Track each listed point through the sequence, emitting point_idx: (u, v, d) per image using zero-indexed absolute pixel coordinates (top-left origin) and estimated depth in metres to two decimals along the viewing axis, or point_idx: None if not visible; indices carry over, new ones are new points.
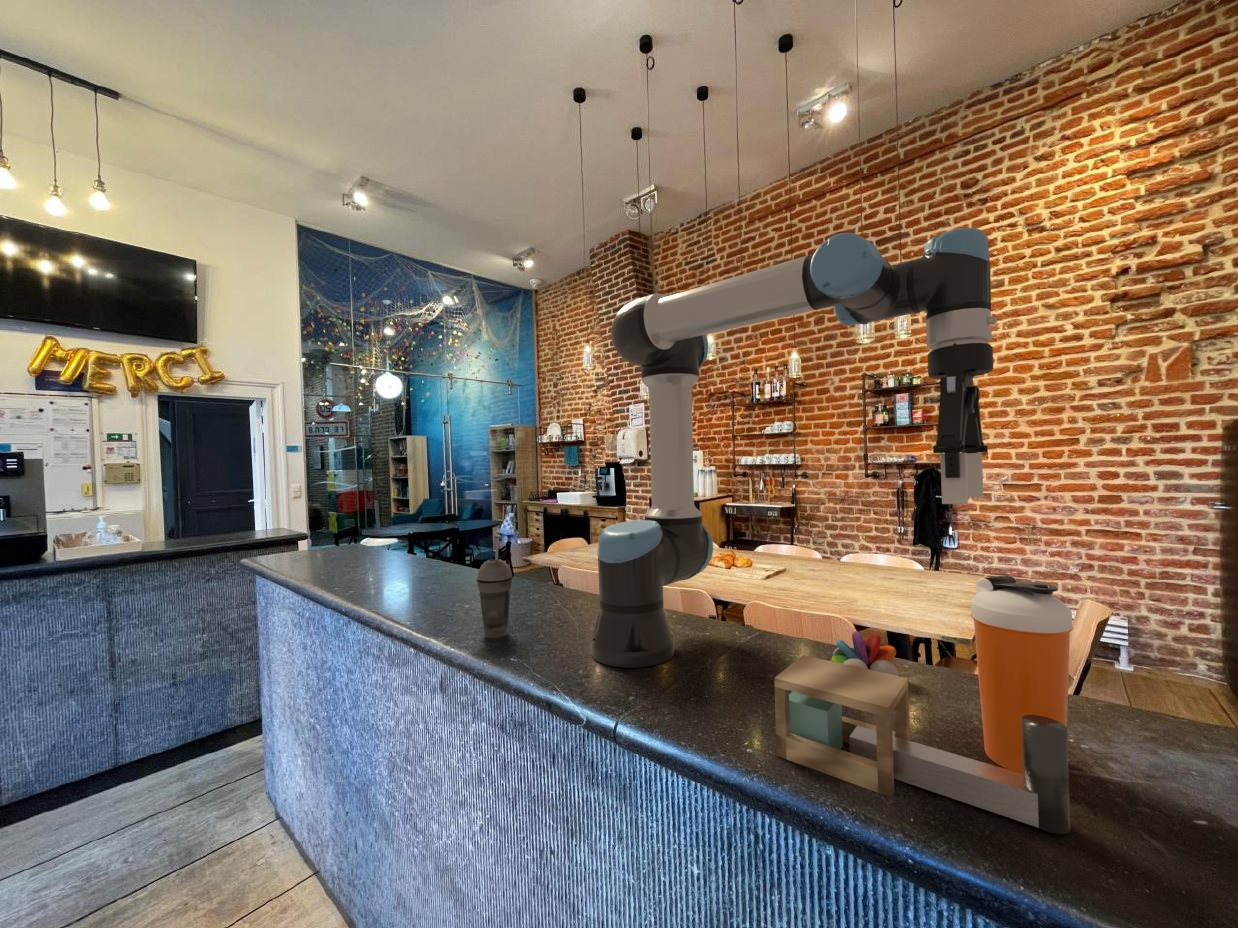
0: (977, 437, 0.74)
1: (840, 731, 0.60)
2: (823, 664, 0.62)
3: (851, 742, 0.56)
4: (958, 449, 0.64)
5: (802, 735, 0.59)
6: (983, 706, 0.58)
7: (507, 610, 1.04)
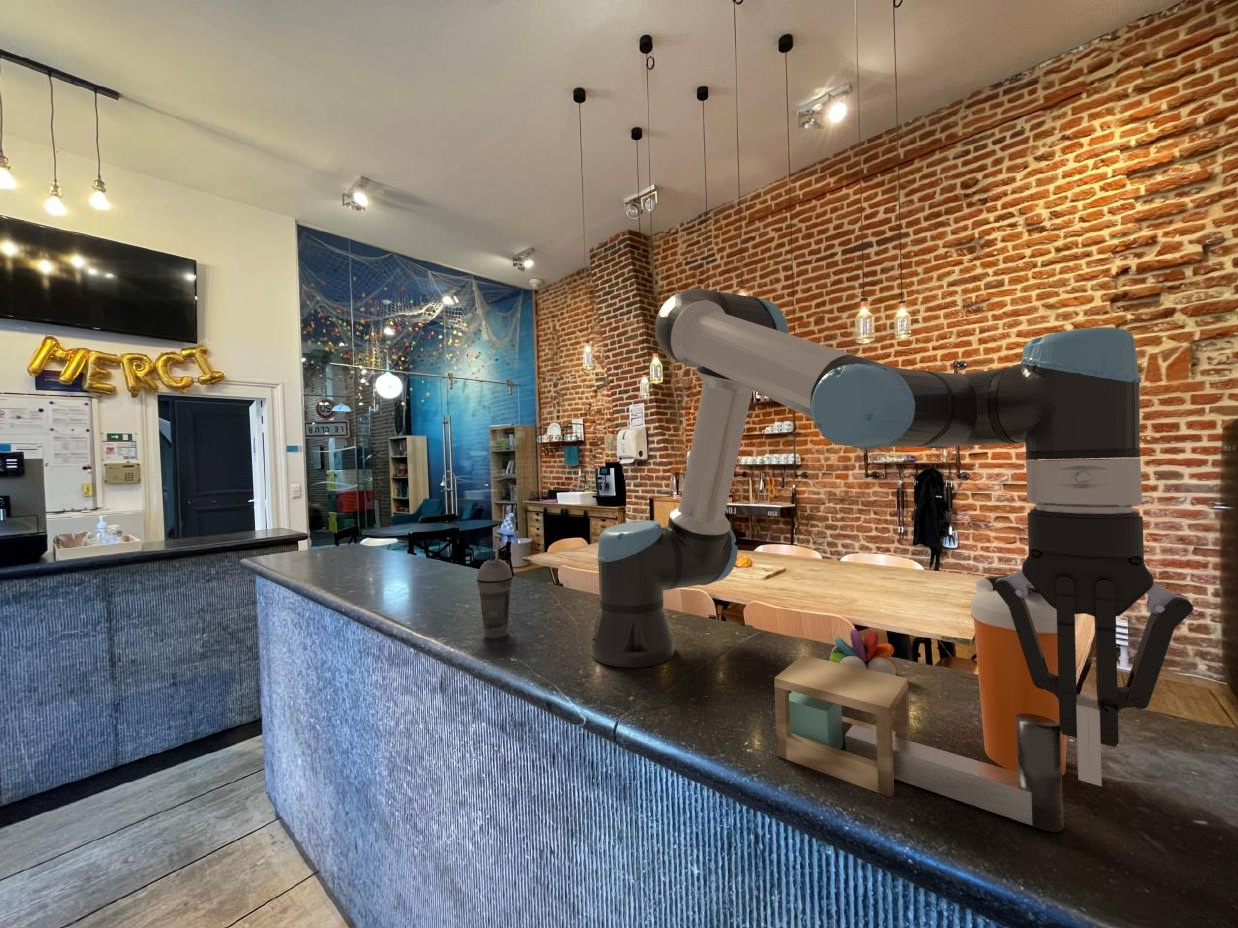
0: (1097, 670, 0.44)
1: (840, 731, 0.60)
2: (823, 664, 0.62)
3: (847, 741, 0.57)
4: (1063, 698, 0.45)
5: (802, 735, 0.59)
6: (983, 706, 0.58)
7: (507, 610, 1.04)
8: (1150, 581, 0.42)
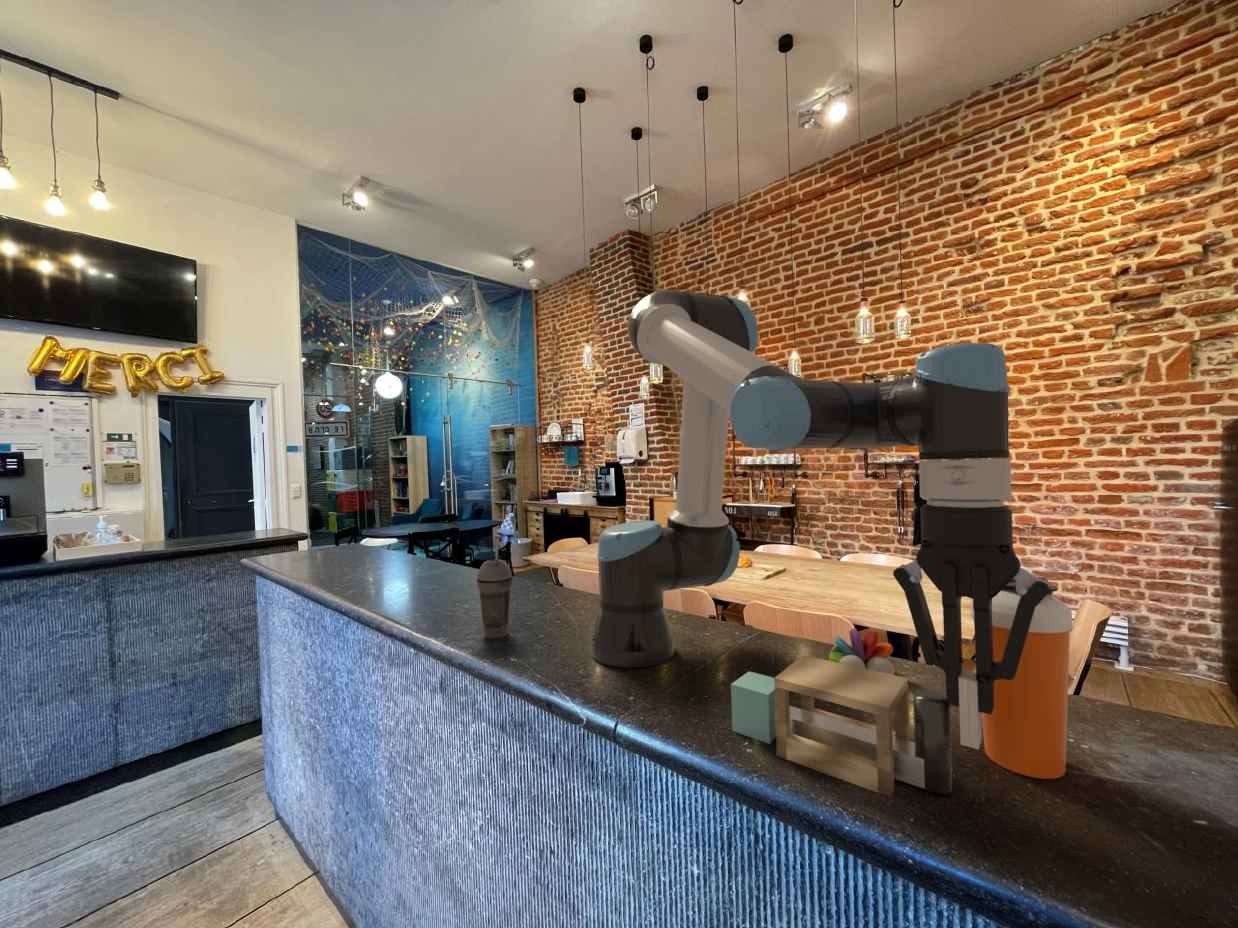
0: (975, 646, 0.49)
1: None
2: (823, 664, 0.62)
3: (774, 718, 0.62)
4: (949, 672, 0.51)
5: (747, 717, 0.63)
6: None
7: (507, 610, 1.04)
8: (1016, 567, 0.47)
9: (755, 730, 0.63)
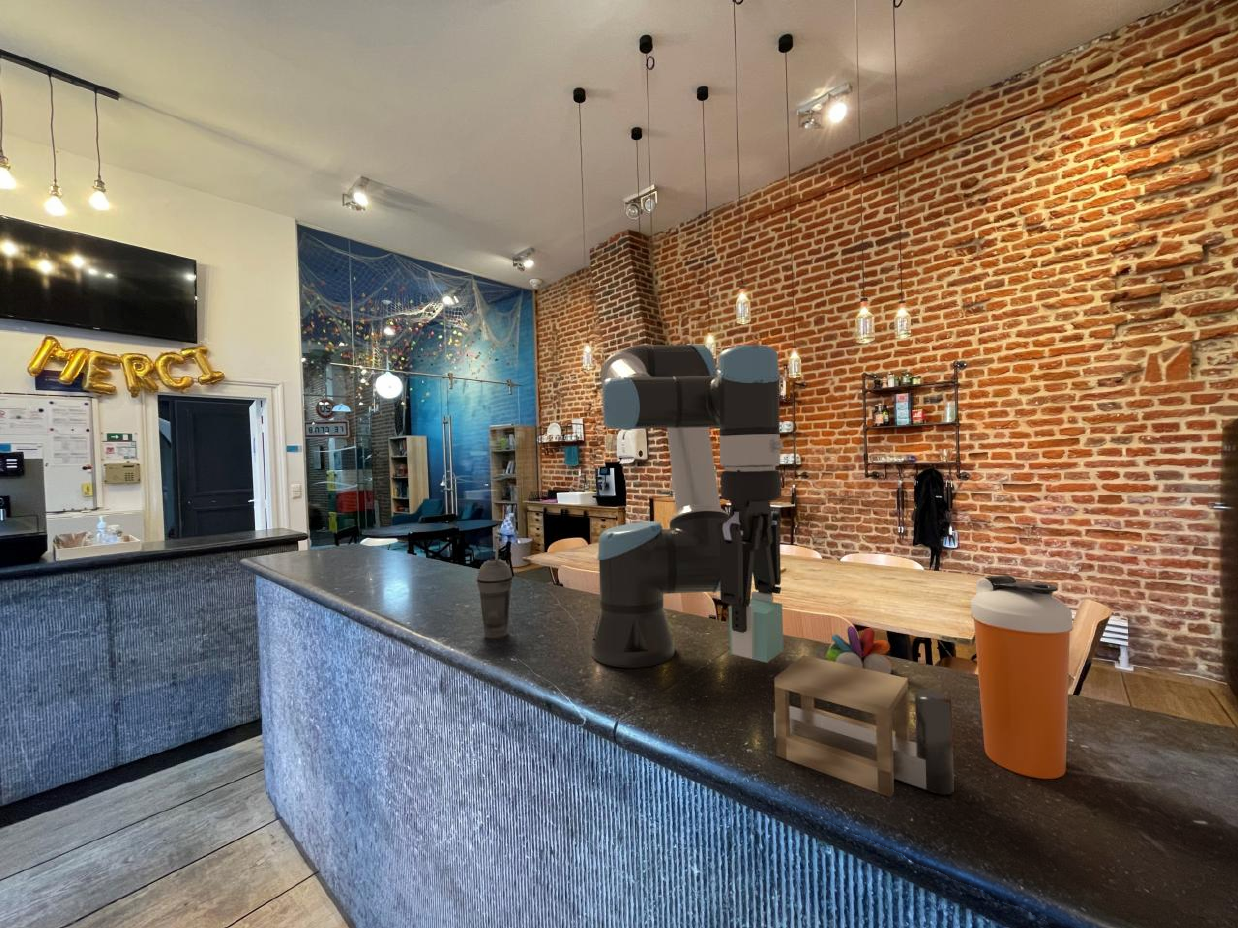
0: (768, 572, 0.67)
1: (780, 636, 0.65)
2: (823, 664, 0.62)
3: None
4: (743, 605, 0.62)
5: None
6: (983, 706, 0.58)
7: (507, 610, 1.04)
8: (770, 511, 0.68)
9: None
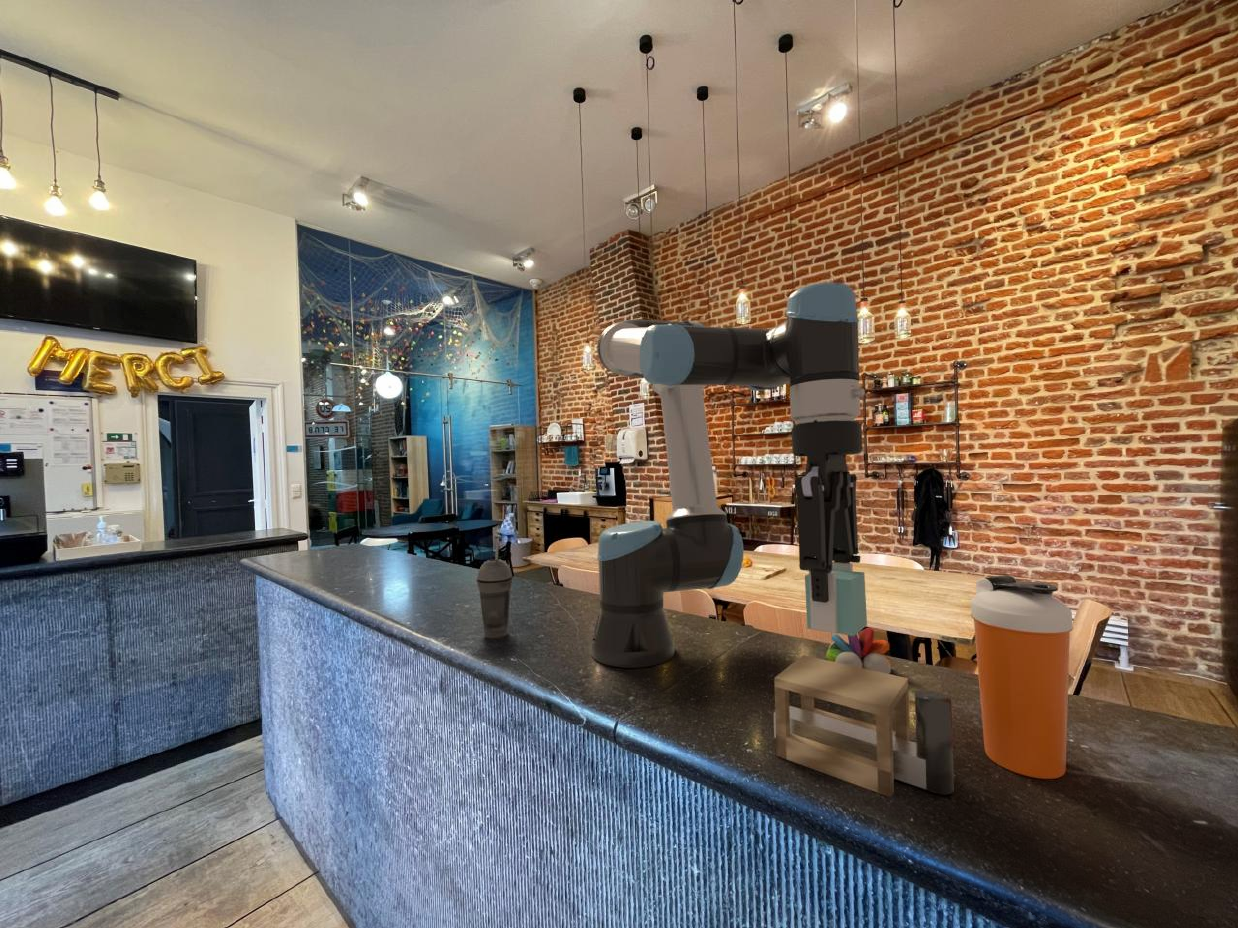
0: (847, 538, 0.60)
1: (864, 608, 0.58)
2: (823, 664, 0.62)
3: None
4: (825, 571, 0.55)
5: None
6: (983, 706, 0.58)
7: (507, 610, 1.04)
8: (846, 470, 0.61)
9: None
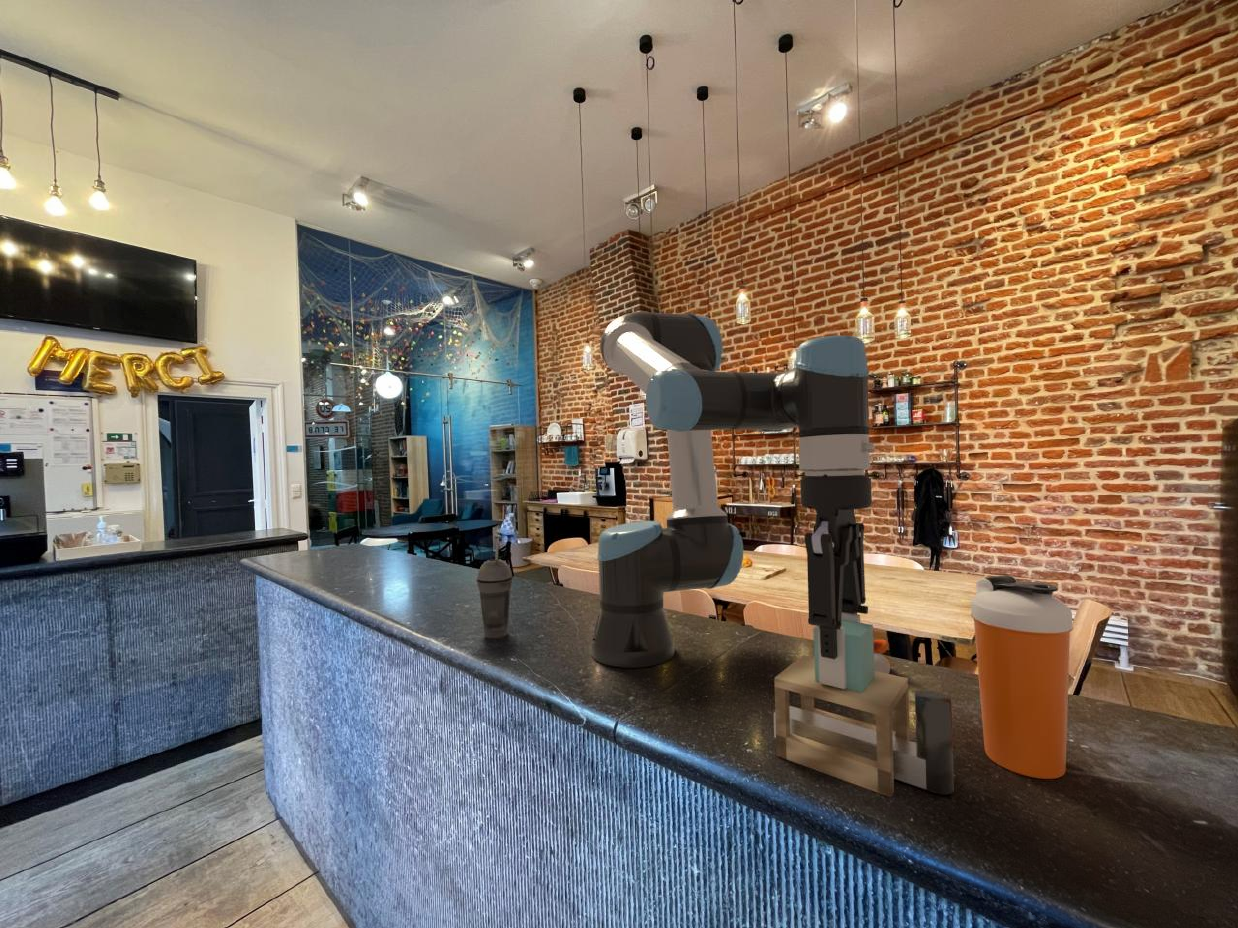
0: (855, 589, 0.60)
1: (872, 661, 0.58)
2: None
3: None
4: (834, 628, 0.55)
5: None
6: (983, 706, 0.58)
7: (507, 610, 1.04)
8: None
9: None
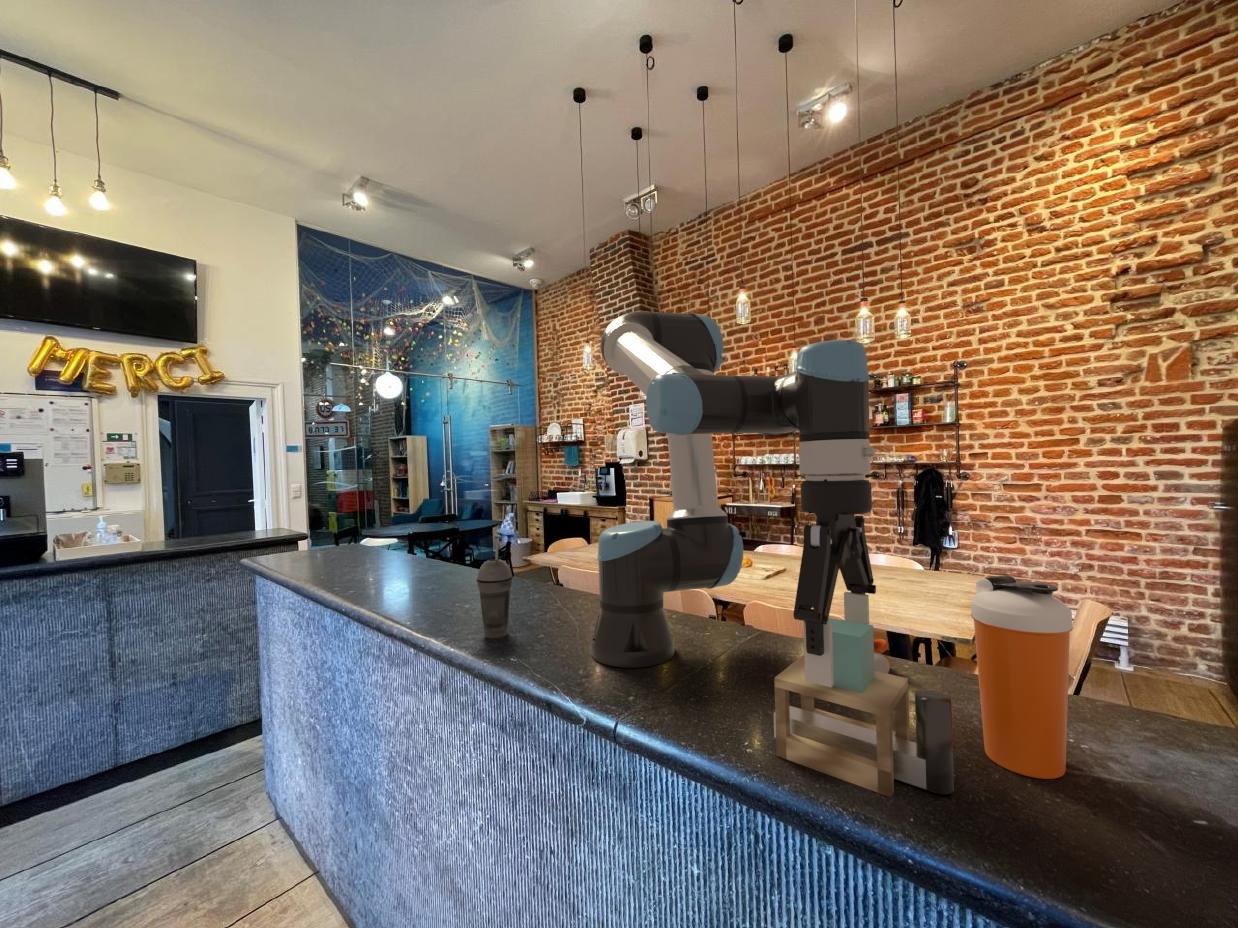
0: (862, 578, 0.62)
1: (872, 662, 0.58)
2: None
3: None
4: (819, 621, 0.52)
5: (833, 664, 0.56)
6: (983, 706, 0.58)
7: (507, 610, 1.04)
8: None
9: (844, 678, 0.56)
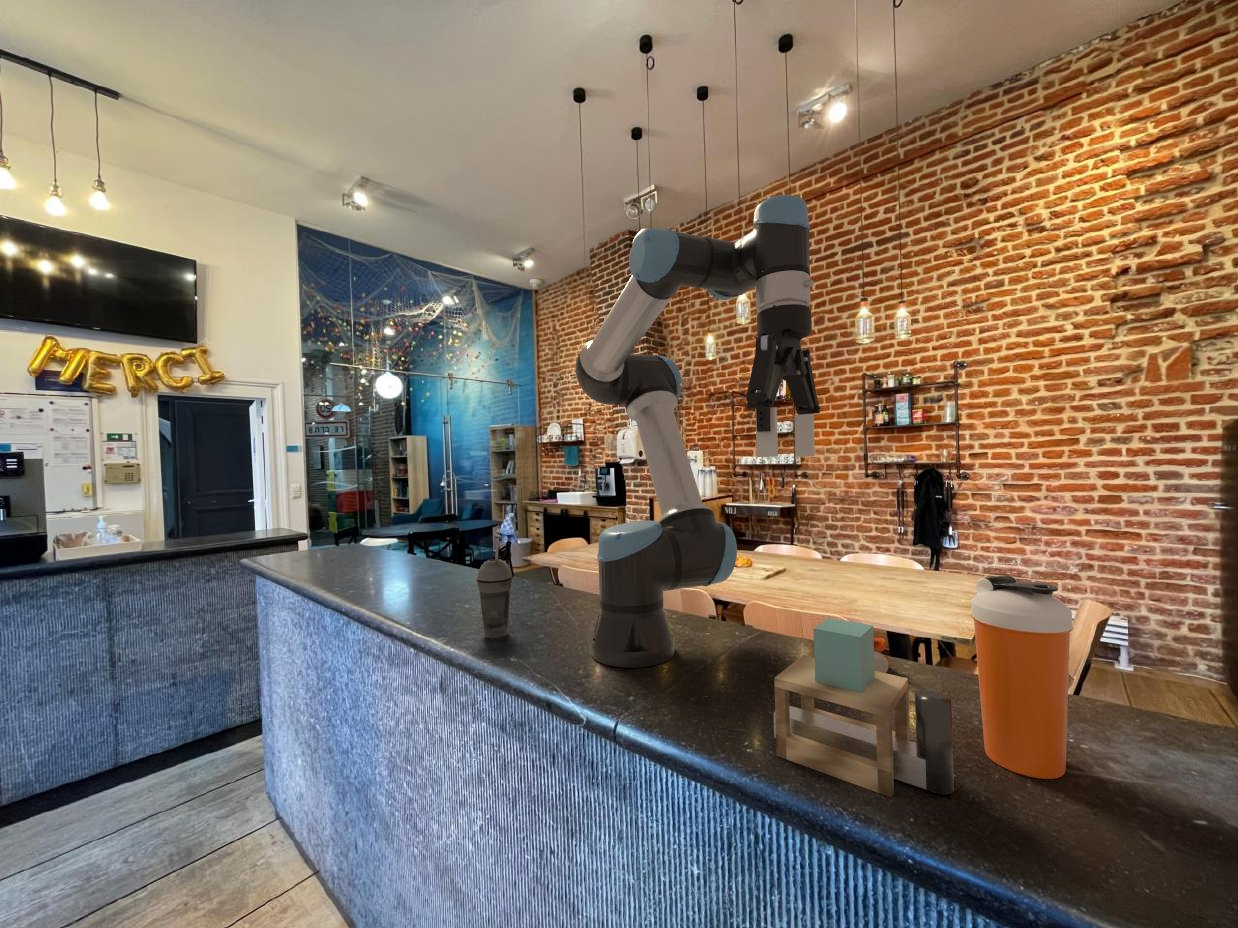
0: (807, 398, 0.77)
1: (872, 662, 0.58)
2: None
3: None
4: (766, 404, 0.67)
5: (833, 664, 0.56)
6: (983, 706, 0.58)
7: (507, 610, 1.04)
8: None
9: (844, 678, 0.56)
